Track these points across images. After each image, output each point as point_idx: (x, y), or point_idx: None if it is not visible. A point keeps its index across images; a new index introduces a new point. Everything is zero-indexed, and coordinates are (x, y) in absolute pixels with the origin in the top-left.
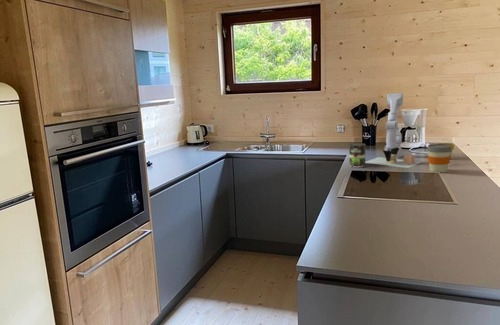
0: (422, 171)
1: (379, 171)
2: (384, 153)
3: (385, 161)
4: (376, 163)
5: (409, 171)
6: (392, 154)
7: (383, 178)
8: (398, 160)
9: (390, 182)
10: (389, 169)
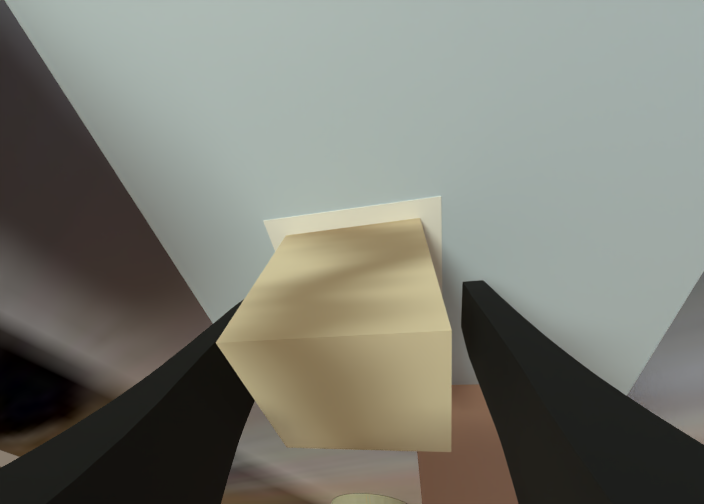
0: (305, 480)
1: (37, 349)
2: (50, 449)
3: (278, 247)
4: (132, 142)
5: (245, 451)
6: (438, 401)
7: (8, 420)
8: (590, 282)
9: (24, 451)
10: None
